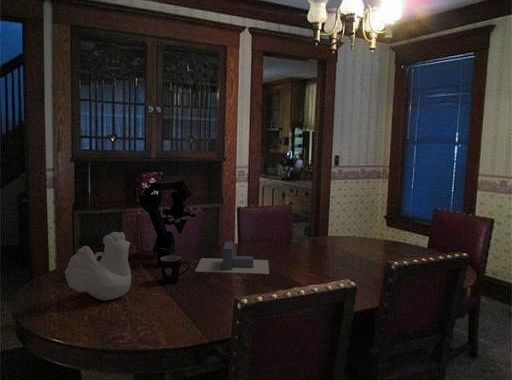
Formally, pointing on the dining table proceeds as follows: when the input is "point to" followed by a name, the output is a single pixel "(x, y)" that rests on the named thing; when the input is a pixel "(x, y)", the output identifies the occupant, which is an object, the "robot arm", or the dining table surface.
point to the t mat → (217, 266)
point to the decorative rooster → (101, 269)
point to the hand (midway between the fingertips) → (179, 233)
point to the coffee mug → (171, 268)
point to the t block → (234, 258)
